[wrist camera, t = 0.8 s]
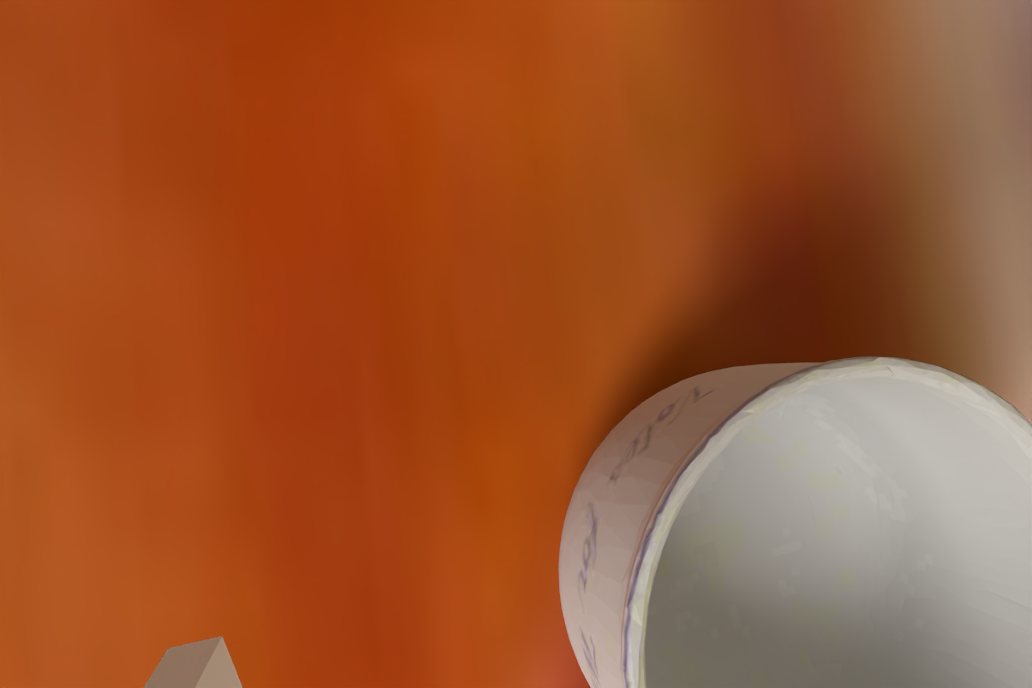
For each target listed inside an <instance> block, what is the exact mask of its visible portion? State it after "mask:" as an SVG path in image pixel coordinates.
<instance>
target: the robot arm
mask: <svg viewBox="0 0 1032 688" xmlns="http://www.w3.org/2000/svg"><path fill="white" fill-rule="evenodd" d="M144 688H243V687H242V685H241V682H240V680H239V677H238V675H237V672H236V670H235V667H234V665H233V662H232V660H231V657H230V655H229V652H228V650H227V647H226V645H225V642H224V640H223V637H222V636H220V637H216V638H211V639H207V640H202V641H198V642H193V643H189V644H184V645H180V646H175V647H171V648H168V649H167V651H166V652H165V654H164V656H163V657H162V659H161V660H160V662H159V664H158V665H157V667H156V669H155V670H154V672H153V673H152V675H151V677H150V678H149V680H148V681H147V683H146V685H145V686H144Z"/></svg>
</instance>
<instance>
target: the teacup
mask: <svg viewBox="0 0 1032 688" xmlns="http://www.w3.org/2000/svg"><path fill="white" fill-rule="evenodd" d="M559 586H560V598H561V606H562V611H563V615H564V620H565V624H566V628H567V632H568V636H569V639H570V642H571V645H572V648H573V650H574V653H575V655H576V658H577V661H578V663H579V666H580V668H581V670H582V672H583V674H584V676H585V678H586V680H587V682H588V683H589V685H590V687H591V688H1032V424H1031V423H1030V422H1029V421H1028V420H1027V419H1026V418H1025V417H1024V416H1023V415H1022V414H1021V413H1020V412H1019V411H1018V410H1017V409H1016V408H1015V407H1014V406H1012V405H1011V404H1009V403H1008V402H1007V401H1005V400H1004V399H1002V398H1001V397H1000V396H998V395H997V394H995V393H994V392H992V391H990V390H989V389H987V388H985V387H984V386H983V385H981V384H979V383H977V382H975V381H974V380H972V379H970V378H968V377H965V376H962V375H959V374H956V373H954V372H951V371H949V370H947V369H944V368H942V367H939V366H936V365H931V364H927V363H923V362H918V361H914V360H909V359H903V358H894V357H876V356H865V357H854V358H846V359H839V360H832V361H828V362H823V363H777V364H759V365H748V366H736V367H730V368H725V369H720V370H715V371H710V372H706V373H703V374H699V375H696V376H693V377H690V378H687V379H685V380H682V381H680V382H678V383H676V384H674V385H672V386H670V387H668V388H666V389H664V390H662V391H660V392H658V393H656V394H655V395H653V396H652V397H650V398H648V399H647V400H645V401H644V402H642V403H641V404H640V405H638V406H637V407H636V408H635V409H633V410H632V411H631V412H630V413H629V414H628V415H627V416H625V417H624V418H623V419H622V420H621V421H620V422H619V423H618V424H617V425H616V426H615V427H614V428H613V429H612V430H611V431H610V432H609V434H608V435H607V436H606V438H605V439H604V440H603V441H602V443H601V444H600V445H599V446H598V448H597V449H596V450H595V452H594V453H593V455H592V456H591V458H590V460H589V462H588V464H587V465H586V467H585V469H584V471H583V473H582V475H581V477H580V479H579V481H578V483H577V485H576V487H575V489H574V492H573V495H572V498H571V501H570V504H569V507H568V510H567V513H566V517H565V522H564V526H563V531H562V538H561V544H560V556H559Z"/></svg>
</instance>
